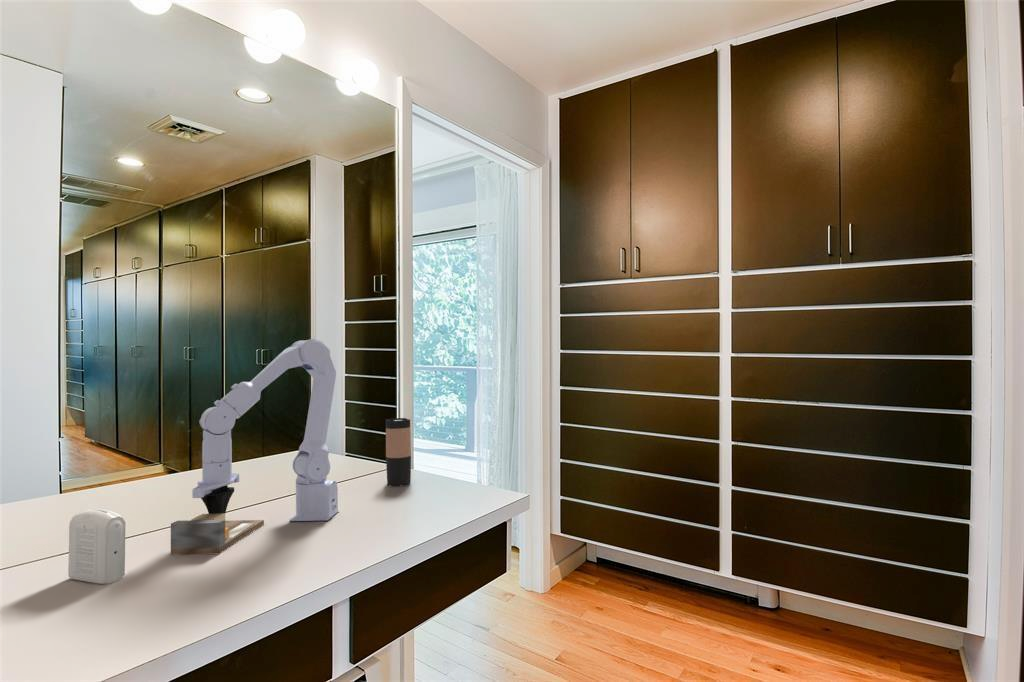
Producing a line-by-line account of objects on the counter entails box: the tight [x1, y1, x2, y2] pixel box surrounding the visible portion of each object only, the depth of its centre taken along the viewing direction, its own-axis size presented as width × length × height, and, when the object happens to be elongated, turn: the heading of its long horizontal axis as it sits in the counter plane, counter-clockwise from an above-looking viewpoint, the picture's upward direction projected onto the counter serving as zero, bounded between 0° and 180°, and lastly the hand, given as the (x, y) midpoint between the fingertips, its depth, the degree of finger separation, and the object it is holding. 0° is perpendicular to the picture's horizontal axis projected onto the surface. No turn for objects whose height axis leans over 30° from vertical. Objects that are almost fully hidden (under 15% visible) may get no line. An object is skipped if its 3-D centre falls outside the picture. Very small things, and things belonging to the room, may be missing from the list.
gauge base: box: [170, 519, 265, 555], centre depth 113 cm, size 10×18×6 cm, turn 179°
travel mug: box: [385, 417, 412, 487], centre depth 161 cm, size 8×8×20 cm
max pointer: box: [225, 528, 229, 539], centre depth 108 cm, size 2×2×2 cm, turn 89°
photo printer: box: [67, 508, 126, 585], centre depth 93 cm, size 10×4×12 cm, turn 73°
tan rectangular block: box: [190, 513, 226, 521], centre depth 111 cm, size 8×4×4 cm, turn 89°
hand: (217, 522), depth 114 cm, fingers closed
